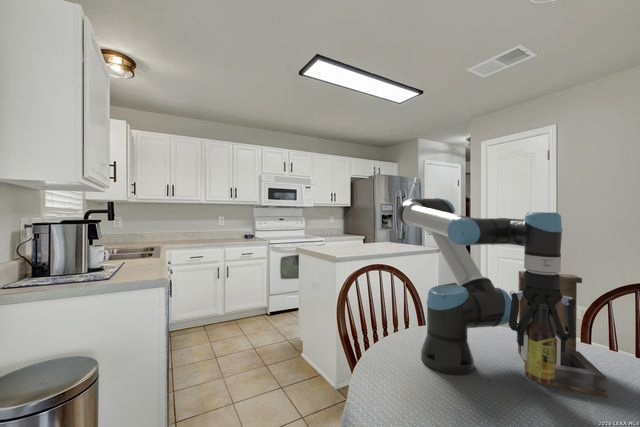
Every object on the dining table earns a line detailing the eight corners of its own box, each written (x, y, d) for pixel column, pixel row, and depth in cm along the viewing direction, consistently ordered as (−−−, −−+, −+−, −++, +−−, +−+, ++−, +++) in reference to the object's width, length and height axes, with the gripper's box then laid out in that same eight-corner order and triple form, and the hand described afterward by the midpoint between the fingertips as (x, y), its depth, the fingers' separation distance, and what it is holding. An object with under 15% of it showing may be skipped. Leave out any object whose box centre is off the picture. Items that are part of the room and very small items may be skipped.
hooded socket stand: (537, 383, 80) (538, 283, 80) (517, 351, 98) (518, 271, 98) (608, 396, 74) (609, 289, 74) (573, 360, 93) (573, 274, 93)
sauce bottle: (546, 389, 71) (547, 308, 70) (519, 376, 76) (520, 301, 76) (560, 382, 74) (561, 304, 73) (532, 370, 79) (533, 298, 79)
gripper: (501, 271, 75) (500, 359, 75) (597, 278, 68) (594, 376, 68) (496, 266, 82) (494, 347, 82) (581, 272, 74) (579, 361, 75)
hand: (539, 360), depth 75 cm, fingers closed on sauce bottle, 6 cm apart
